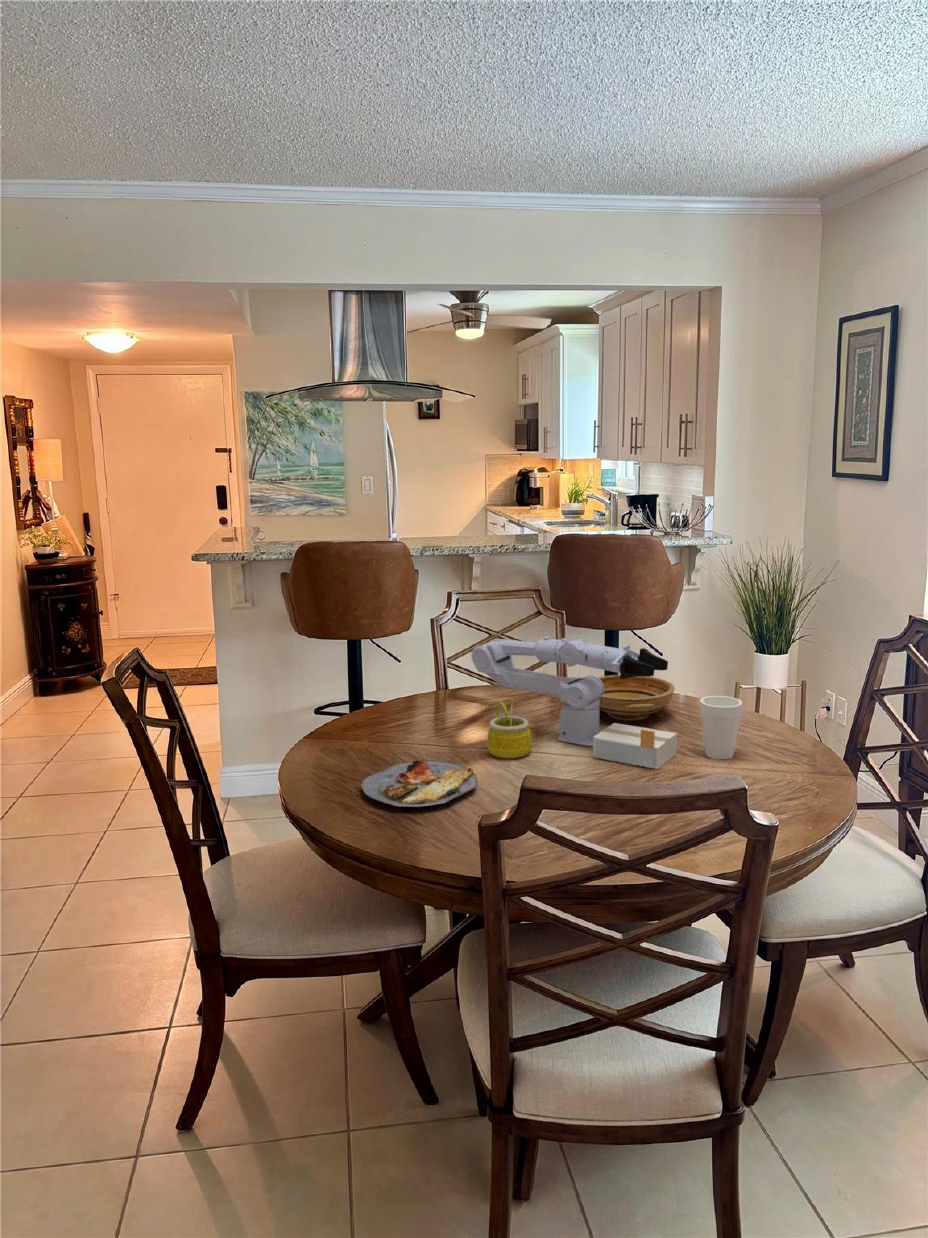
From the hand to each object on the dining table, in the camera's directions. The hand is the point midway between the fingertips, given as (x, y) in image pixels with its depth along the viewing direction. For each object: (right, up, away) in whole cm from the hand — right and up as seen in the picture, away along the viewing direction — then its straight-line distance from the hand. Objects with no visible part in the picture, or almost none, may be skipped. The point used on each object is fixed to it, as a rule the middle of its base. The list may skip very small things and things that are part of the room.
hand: (660, 668), depth 205 cm
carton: (-5, -21, +4) cm, 22 cm away
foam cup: (+15, -21, +3) cm, 25 cm away
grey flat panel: (-9, -22, -1) cm, 23 cm away
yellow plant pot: (-34, -21, +9) cm, 41 cm away
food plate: (-55, -26, -13) cm, 62 cm away
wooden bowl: (-1, -15, +35) cm, 38 cm away
